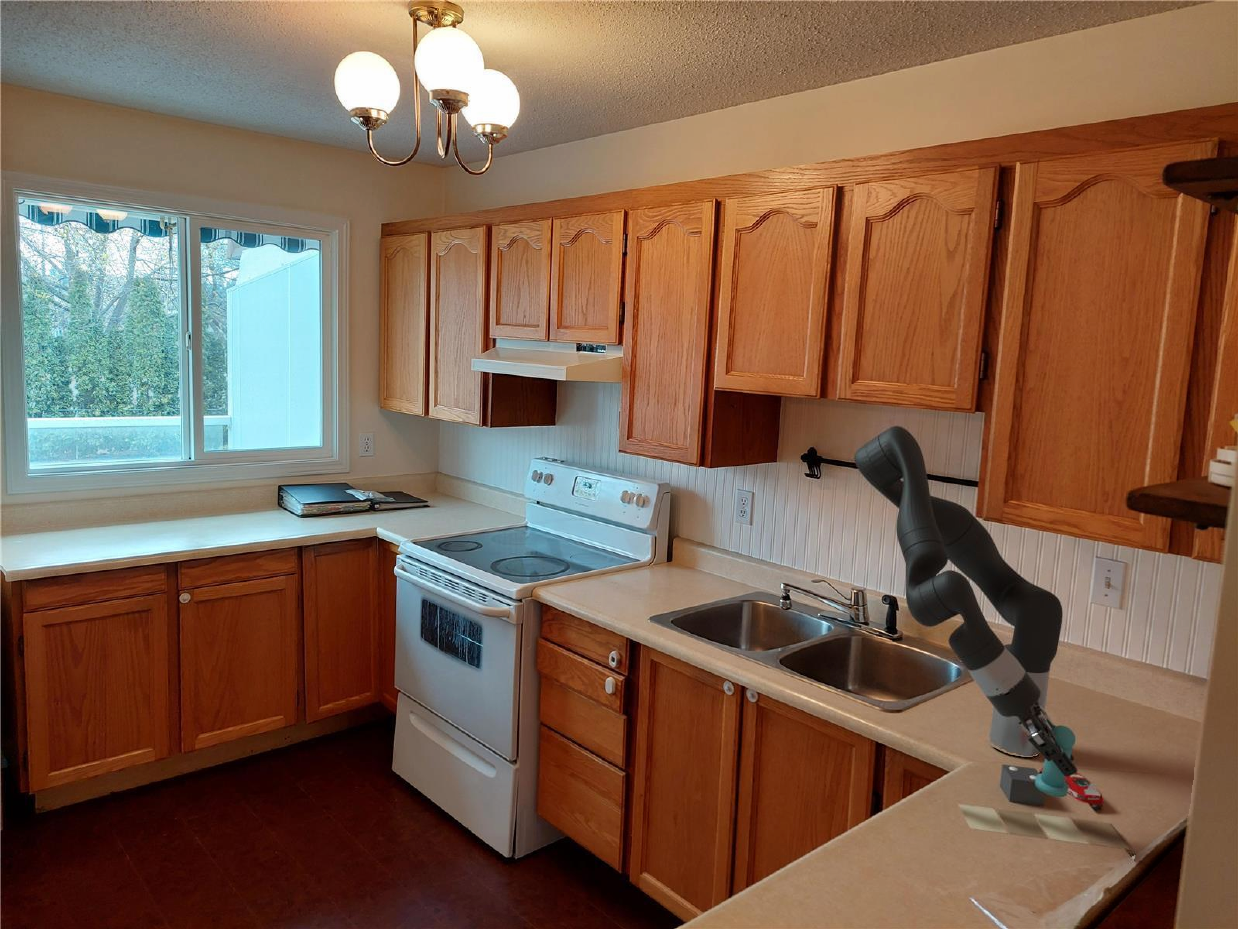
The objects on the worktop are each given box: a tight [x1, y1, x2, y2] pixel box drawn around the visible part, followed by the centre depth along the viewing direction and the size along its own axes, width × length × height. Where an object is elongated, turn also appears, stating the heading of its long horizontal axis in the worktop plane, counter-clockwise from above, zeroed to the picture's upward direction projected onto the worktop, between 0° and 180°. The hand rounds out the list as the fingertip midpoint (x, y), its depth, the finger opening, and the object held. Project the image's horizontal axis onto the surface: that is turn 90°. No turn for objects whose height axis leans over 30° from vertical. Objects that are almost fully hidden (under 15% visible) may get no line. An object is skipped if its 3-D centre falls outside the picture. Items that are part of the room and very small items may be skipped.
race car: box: [1038, 767, 1104, 810], centre depth 152 cm, size 13×5×4 cm, turn 6°
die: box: [999, 763, 1046, 807], centre depth 146 cm, size 6×6×6 cm
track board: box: [958, 803, 1137, 858], centre depth 137 cm, size 9×25×2 cm, turn 81°
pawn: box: [1035, 725, 1076, 798], centre depth 138 cm, size 5×5×11 cm
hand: (1070, 767), depth 137 cm, fingers closed on pawn, 3 cm apart
